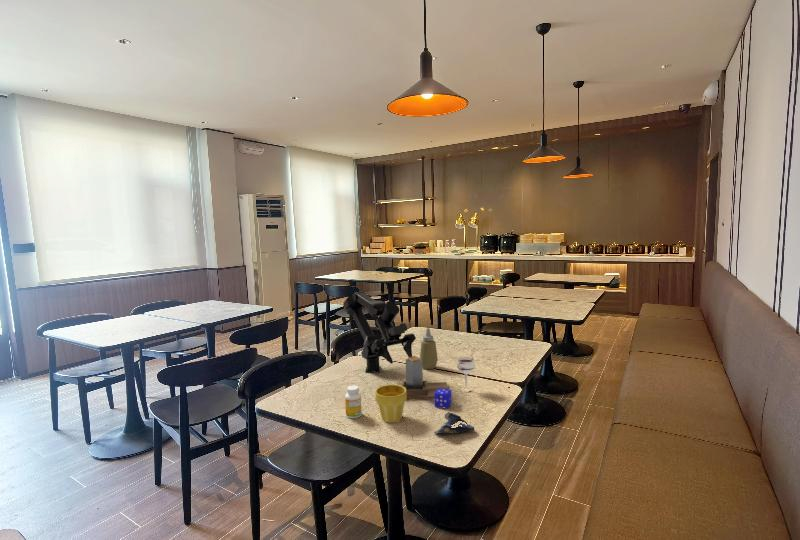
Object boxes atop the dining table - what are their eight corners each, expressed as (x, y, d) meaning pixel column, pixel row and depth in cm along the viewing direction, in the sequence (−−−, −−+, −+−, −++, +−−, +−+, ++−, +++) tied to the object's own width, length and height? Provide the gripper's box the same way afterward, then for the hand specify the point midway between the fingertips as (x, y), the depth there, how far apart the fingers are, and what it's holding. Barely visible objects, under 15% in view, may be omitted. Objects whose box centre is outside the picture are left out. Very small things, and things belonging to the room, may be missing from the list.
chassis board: (396, 385, 168) (396, 378, 168) (446, 384, 168) (446, 377, 168) (395, 399, 154) (395, 392, 154) (450, 398, 154) (450, 390, 154)
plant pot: (382, 428, 133) (381, 398, 132) (371, 415, 142) (370, 387, 141) (412, 421, 137) (411, 392, 136) (399, 409, 146) (398, 382, 145)
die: (448, 408, 146) (448, 394, 145) (434, 407, 148) (434, 393, 147) (451, 403, 151) (451, 389, 150) (438, 401, 152) (437, 388, 152)
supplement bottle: (347, 411, 146) (346, 384, 145) (362, 411, 145) (361, 384, 144) (344, 418, 140) (343, 390, 139) (360, 418, 140) (359, 390, 139)
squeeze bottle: (441, 366, 190) (440, 327, 188) (432, 371, 183) (431, 331, 182) (425, 363, 195) (424, 325, 193) (416, 368, 188) (415, 329, 186)
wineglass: (478, 389, 162) (478, 359, 161) (468, 394, 157) (468, 363, 156) (463, 385, 167) (463, 356, 165) (453, 390, 162) (453, 360, 160)
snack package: (434, 422, 137) (433, 439, 125) (437, 403, 136) (436, 418, 125) (470, 429, 136) (473, 447, 124) (474, 410, 135) (476, 426, 123)
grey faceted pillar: (406, 389, 161) (405, 357, 159) (416, 387, 163) (415, 355, 162) (413, 393, 157) (412, 360, 156) (422, 390, 159) (422, 358, 158)
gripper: (374, 320, 164) (389, 354, 155) (413, 314, 174) (429, 346, 166) (364, 335, 171) (379, 369, 163) (402, 329, 181) (417, 360, 173)
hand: (402, 361), depth 166 cm, fingers open, 9 cm apart
